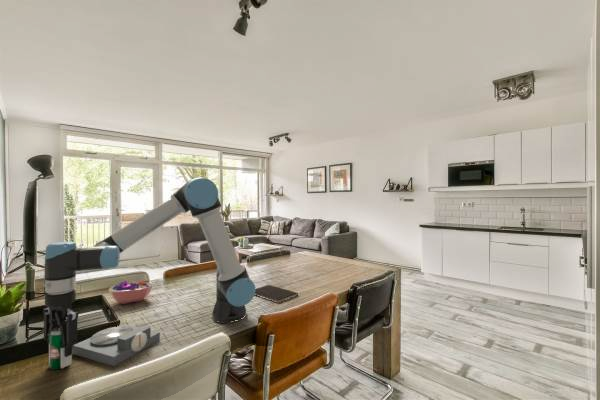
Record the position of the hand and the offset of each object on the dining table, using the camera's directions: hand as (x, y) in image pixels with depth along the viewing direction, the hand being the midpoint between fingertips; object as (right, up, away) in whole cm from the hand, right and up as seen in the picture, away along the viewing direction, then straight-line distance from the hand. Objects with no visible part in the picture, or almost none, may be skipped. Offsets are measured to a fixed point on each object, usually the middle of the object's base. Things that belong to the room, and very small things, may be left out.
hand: (60, 363), depth 90 cm
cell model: (-11, -1, +56) cm, 57 cm away
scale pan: (+8, +2, +13) cm, 15 cm away
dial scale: (+11, -1, +12) cm, 16 cm away
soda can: (0, -1, 0) cm, 1 cm away
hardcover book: (+62, -2, +69) cm, 92 cm away
